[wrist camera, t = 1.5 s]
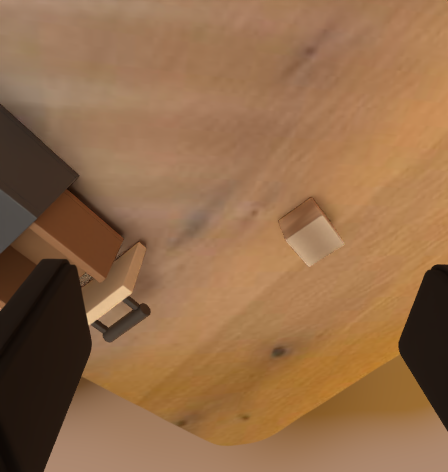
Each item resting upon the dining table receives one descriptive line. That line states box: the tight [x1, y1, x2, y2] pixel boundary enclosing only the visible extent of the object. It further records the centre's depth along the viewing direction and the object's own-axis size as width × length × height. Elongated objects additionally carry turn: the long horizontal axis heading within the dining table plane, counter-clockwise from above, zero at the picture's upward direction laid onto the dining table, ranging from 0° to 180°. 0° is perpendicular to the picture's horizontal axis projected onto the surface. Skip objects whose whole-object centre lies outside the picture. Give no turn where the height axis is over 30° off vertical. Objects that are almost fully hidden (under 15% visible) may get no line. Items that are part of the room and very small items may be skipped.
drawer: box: [0, 189, 151, 342], centre depth 35 cm, size 18×12×8 cm, turn 40°
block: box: [279, 197, 345, 267], centre depth 37 cm, size 4×4×4 cm
